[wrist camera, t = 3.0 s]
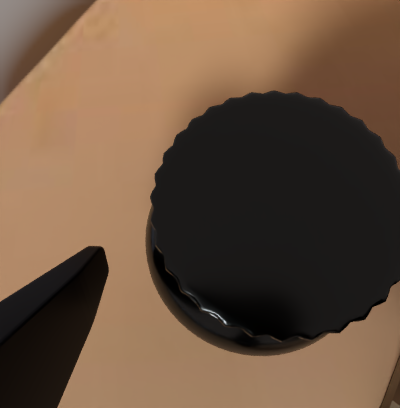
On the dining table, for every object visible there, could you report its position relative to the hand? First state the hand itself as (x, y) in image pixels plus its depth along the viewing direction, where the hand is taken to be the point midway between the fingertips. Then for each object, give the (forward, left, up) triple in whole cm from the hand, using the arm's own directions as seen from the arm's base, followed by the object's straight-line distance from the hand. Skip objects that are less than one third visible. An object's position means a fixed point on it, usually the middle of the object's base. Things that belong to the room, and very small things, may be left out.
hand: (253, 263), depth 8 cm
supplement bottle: (0, +1, -9) cm, 9 cm away
